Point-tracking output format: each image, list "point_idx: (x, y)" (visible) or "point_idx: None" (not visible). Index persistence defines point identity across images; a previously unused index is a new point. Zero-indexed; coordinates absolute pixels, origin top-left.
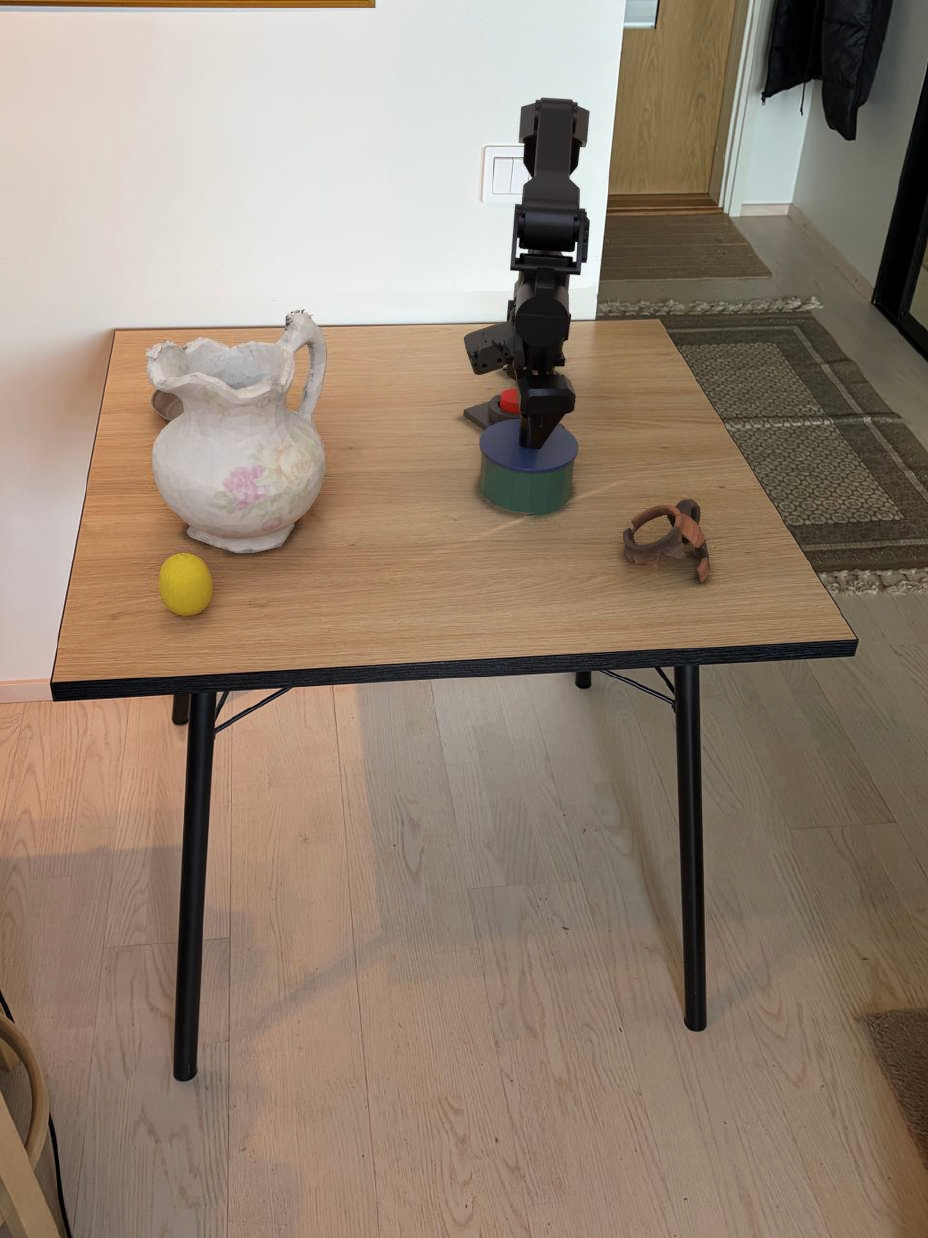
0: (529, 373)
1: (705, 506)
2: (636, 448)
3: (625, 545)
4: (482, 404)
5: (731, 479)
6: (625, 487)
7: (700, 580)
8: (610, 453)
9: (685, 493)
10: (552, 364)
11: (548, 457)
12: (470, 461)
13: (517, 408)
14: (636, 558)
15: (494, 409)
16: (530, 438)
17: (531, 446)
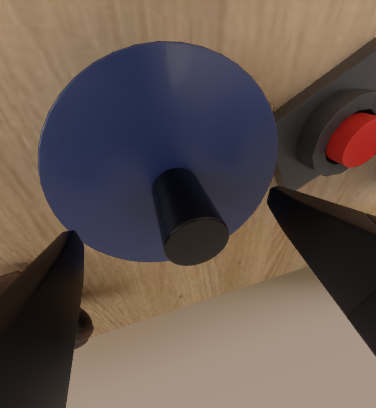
0: (372, 284)
1: (151, 294)
2: (242, 246)
3: (1, 284)
4: None
5: (191, 298)
6: None
7: None
8: (237, 230)
9: (169, 282)
10: None
11: (120, 228)
12: (248, 42)
13: (335, 145)
14: None
15: (355, 102)
16: (59, 250)
17: (68, 231)
